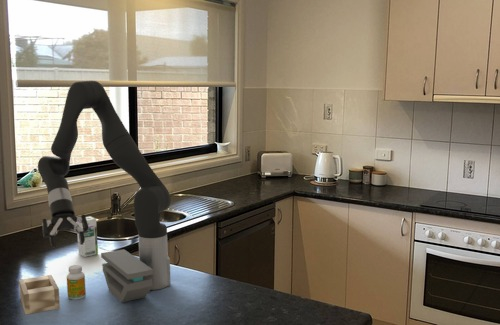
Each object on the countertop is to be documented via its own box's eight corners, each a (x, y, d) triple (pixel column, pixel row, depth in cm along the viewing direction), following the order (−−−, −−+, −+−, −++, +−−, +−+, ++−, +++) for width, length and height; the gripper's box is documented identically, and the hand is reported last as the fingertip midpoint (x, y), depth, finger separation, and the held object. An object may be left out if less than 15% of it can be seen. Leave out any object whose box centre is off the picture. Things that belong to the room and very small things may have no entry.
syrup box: (84, 257, 213) (82, 220, 211) (78, 254, 218) (76, 218, 216) (98, 254, 217) (96, 218, 215) (91, 251, 221) (89, 215, 219)
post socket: (52, 292, 177) (51, 274, 176) (59, 308, 164) (58, 288, 164) (20, 298, 172) (19, 279, 171) (25, 314, 160) (24, 294, 159)
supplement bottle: (68, 301, 170) (66, 270, 169) (66, 295, 175) (65, 265, 173) (86, 298, 172) (85, 268, 171) (84, 292, 177) (83, 263, 176)
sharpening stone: (154, 304, 167) (153, 269, 165) (129, 309, 163) (127, 274, 161) (125, 280, 188) (124, 249, 186) (102, 284, 184) (101, 253, 182)
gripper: (39, 200, 183) (46, 242, 174) (83, 196, 189) (92, 236, 181) (38, 212, 188) (45, 254, 180) (81, 208, 195) (89, 248, 186)
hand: (68, 245), depth 180 cm, fingers open, 8 cm apart
